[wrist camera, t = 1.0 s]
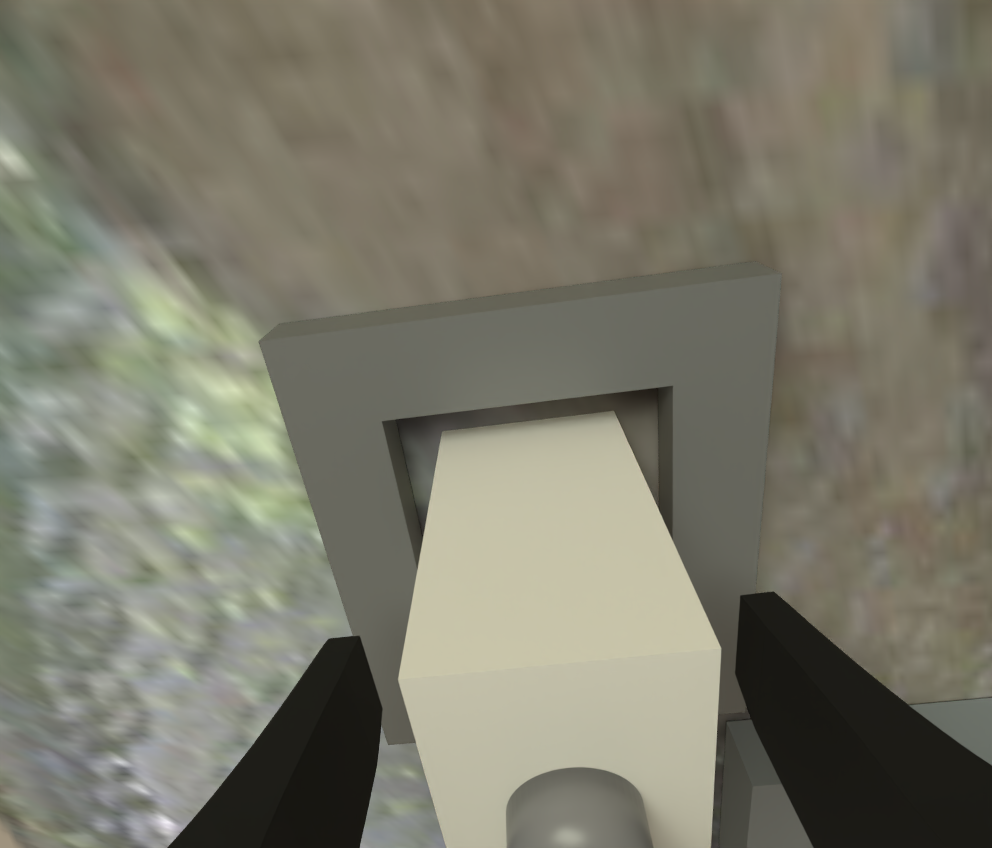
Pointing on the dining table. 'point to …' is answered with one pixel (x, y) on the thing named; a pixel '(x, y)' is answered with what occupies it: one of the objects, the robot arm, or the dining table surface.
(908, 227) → the dining table surface
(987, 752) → the port
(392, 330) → the square frame plate
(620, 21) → the dining table surface
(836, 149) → the dining table surface
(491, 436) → the plug
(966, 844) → the robot arm
